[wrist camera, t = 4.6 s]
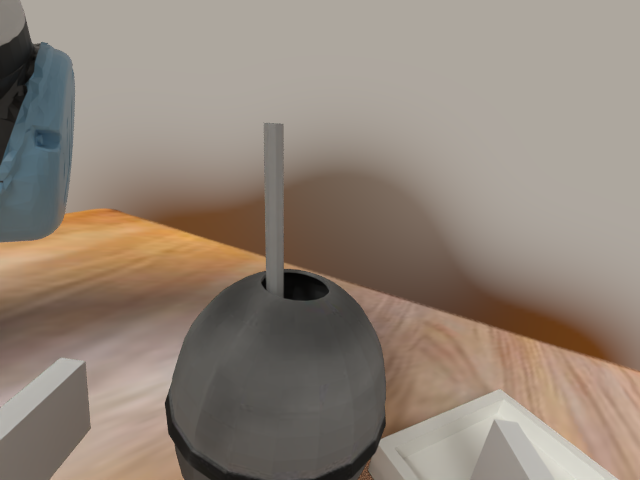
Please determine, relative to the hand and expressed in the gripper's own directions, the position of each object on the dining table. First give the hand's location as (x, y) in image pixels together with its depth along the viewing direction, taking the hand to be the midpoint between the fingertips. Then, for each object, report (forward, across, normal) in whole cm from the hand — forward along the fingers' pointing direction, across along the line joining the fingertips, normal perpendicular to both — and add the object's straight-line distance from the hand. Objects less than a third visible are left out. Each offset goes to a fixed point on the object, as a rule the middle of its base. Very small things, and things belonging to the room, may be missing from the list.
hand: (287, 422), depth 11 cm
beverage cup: (+1, 0, -11) cm, 11 cm away
